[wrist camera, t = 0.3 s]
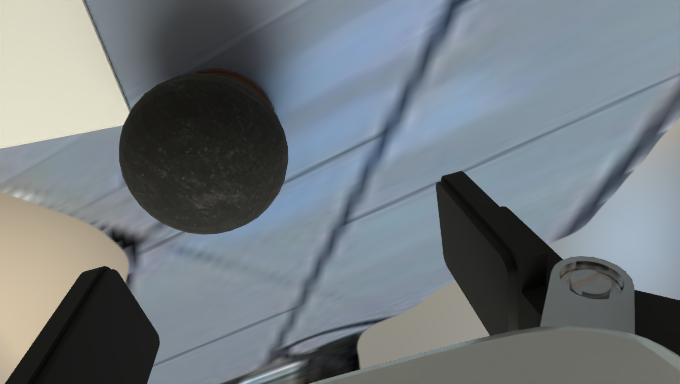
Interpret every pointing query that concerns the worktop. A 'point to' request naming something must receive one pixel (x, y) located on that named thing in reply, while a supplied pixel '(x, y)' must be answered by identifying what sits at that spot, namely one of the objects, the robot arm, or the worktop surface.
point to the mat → (54, 73)
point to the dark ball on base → (204, 152)
